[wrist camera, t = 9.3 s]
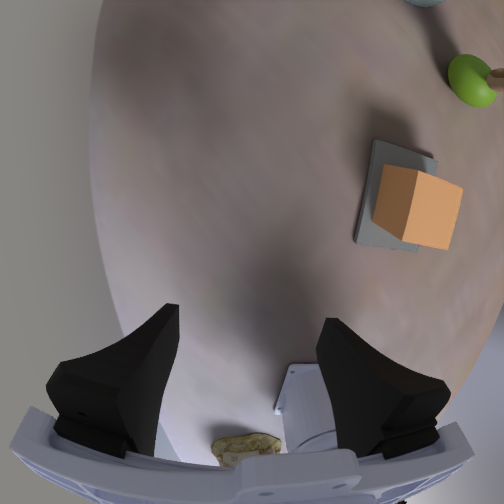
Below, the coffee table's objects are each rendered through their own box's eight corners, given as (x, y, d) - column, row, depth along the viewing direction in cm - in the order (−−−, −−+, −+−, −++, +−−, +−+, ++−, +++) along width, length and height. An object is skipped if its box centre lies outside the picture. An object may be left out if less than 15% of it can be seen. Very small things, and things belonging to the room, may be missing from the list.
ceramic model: (203, 434, 33) (199, 490, 23) (279, 429, 33) (287, 487, 23) (223, 467, 38) (222, 510, 29) (283, 462, 38) (289, 507, 28)
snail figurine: (423, 71, 17) (518, 51, 5) (453, 53, 15) (535, 36, 4) (451, 120, 18) (546, 126, 7) (477, 97, 17) (560, 98, 6)
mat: (413, 250, 23) (416, 252, 22) (353, 241, 22) (356, 243, 22) (433, 160, 20) (437, 161, 19) (373, 139, 19) (376, 139, 19)
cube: (415, 230, 22) (447, 250, 17) (371, 221, 21) (401, 241, 17) (427, 178, 20) (463, 188, 15) (383, 164, 19) (418, 170, 15)
